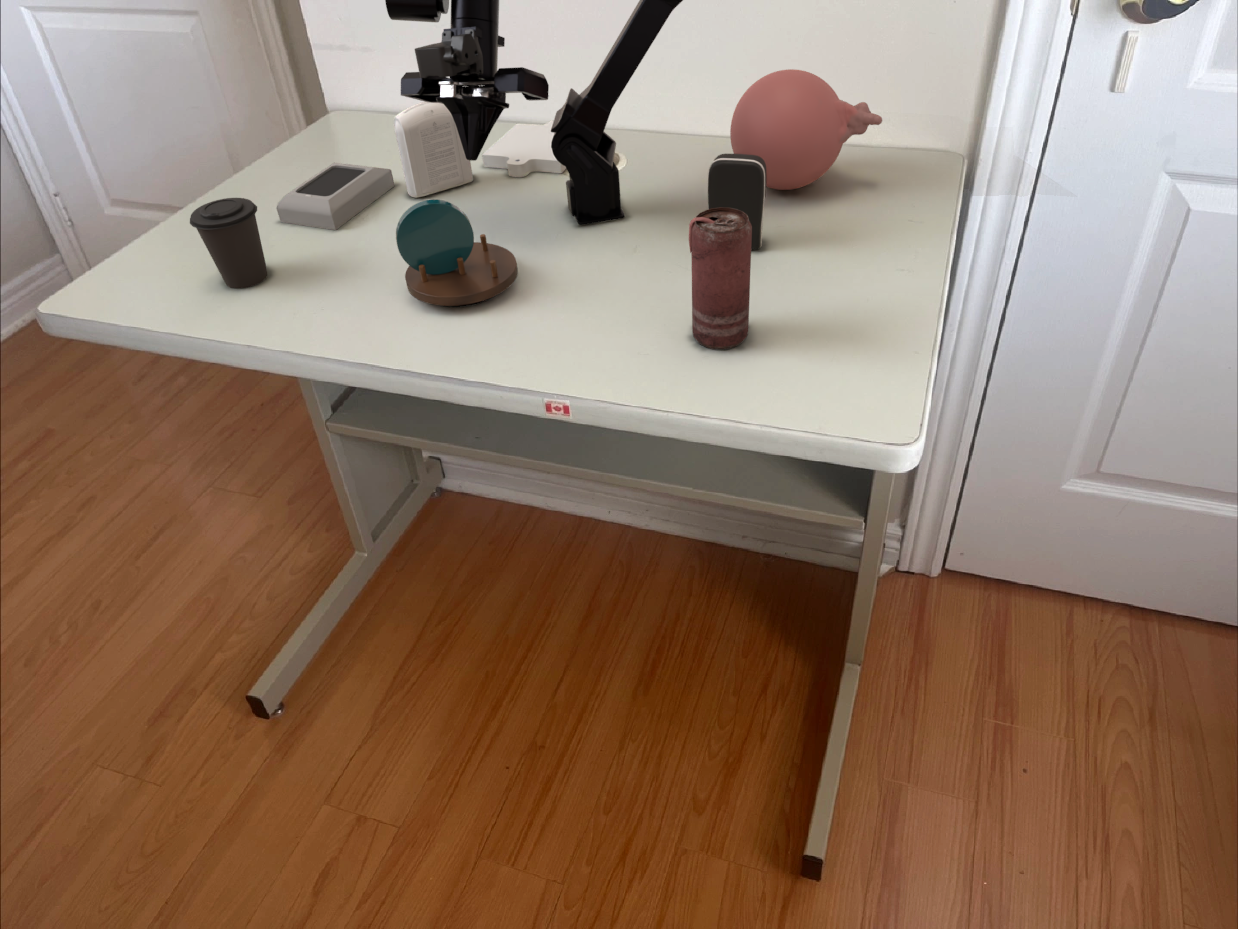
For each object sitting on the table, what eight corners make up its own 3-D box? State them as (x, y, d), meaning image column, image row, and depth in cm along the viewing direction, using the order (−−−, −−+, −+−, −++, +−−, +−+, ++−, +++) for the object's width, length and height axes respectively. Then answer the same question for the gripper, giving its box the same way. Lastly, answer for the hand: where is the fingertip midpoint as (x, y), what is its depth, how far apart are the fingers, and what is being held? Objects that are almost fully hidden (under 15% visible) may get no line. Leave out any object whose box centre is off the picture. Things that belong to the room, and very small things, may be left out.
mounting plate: (555, 180, 137) (553, 167, 136) (476, 173, 141) (474, 161, 139) (597, 134, 149) (596, 122, 148) (524, 129, 153) (522, 117, 152)
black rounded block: (766, 238, 119) (770, 151, 112) (761, 251, 116) (764, 163, 109) (712, 234, 121) (713, 148, 113) (706, 247, 118) (706, 160, 111)
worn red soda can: (686, 324, 104) (684, 207, 95) (742, 318, 105) (745, 202, 96) (694, 354, 100) (693, 234, 91) (752, 348, 100) (757, 228, 91)
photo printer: (465, 173, 141) (451, 90, 133) (478, 181, 138) (464, 97, 130) (403, 192, 137) (384, 108, 129) (415, 201, 134) (396, 116, 126)
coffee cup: (219, 300, 115) (190, 226, 109) (209, 273, 121) (181, 201, 115) (284, 282, 118) (260, 208, 111) (271, 257, 124) (247, 185, 117)
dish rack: (506, 242, 120) (495, 166, 113) (527, 292, 110) (516, 212, 103) (401, 262, 117) (383, 185, 111) (413, 315, 107) (394, 234, 101)
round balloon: (868, 214, 122) (883, 96, 112) (719, 204, 127) (720, 90, 117) (877, 167, 133) (891, 55, 123) (740, 159, 138) (742, 52, 128)
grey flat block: (389, 161, 137) (328, 205, 126) (394, 185, 139) (335, 230, 129) (336, 155, 140) (272, 197, 129) (342, 178, 142) (280, 221, 132)
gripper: (368, 12, 109) (368, 151, 112) (497, 1, 100) (493, 152, 104) (431, 34, 118) (429, 162, 122) (553, 25, 110) (547, 163, 113)
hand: (471, 160), depth 115 cm, fingers closed
